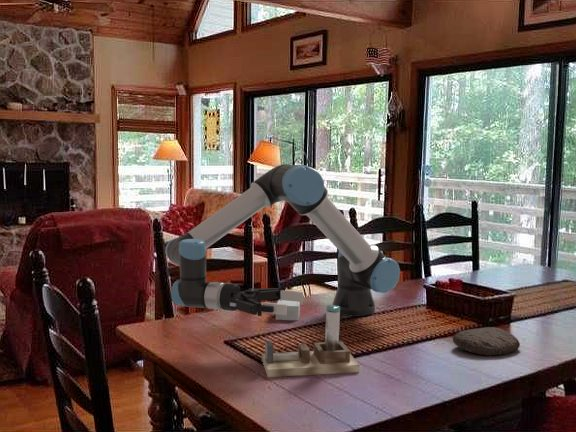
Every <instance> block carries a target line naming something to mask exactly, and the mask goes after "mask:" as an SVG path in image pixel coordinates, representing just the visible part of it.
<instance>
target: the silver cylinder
mask: <svg viewBox="0 0 576 432" xmlns="http://www.w3.org/2000/svg"><path fill="white" fill-rule="evenodd" d="M325 308H326V312H325V333H324V336H325V337H324V342H325V351H335V350H338V344H339V342H340V340H339V339H340V338H339V337H340V321H341V319H340V316H341V314H340V307H339V306H337V305H332V304H329V305H326V307H325Z"/></svg>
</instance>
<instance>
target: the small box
mask: <svg viewBox="0 0 576 432" xmlns="http://www.w3.org/2000/svg"><path fill="white" fill-rule="evenodd" d="M277 300H278V301H277V302H276V303H277V304H287V315H279V314H275V320H276V321H277V320H278V321H299V319H300V314H301V302H297V301H286V300H281V299H277Z"/></svg>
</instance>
